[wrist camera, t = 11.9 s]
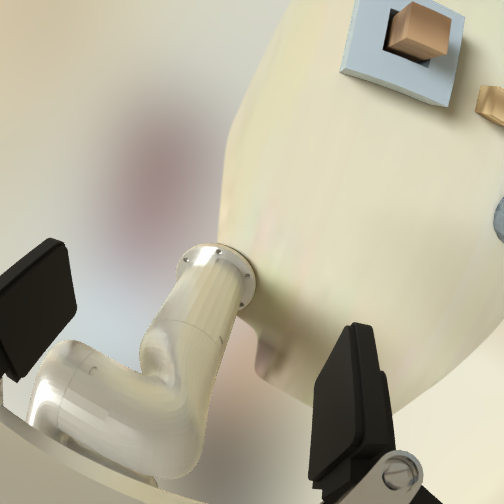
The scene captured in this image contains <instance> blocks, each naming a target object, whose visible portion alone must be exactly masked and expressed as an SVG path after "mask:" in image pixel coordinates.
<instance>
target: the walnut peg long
mask: <svg viewBox="0 0 504 504" xmlns="http://www.w3.org/2000/svg"><path fill="white" fill-rule="evenodd" d="M451 21H452V19H451V18H449V17H447V16H445V15H443V14H441V13H438V12H436V11H434V10H432V9H430V8H427V7H425V6H423V5H420V4H418V3H415V2H413V1H412V2H411V3H409V4H408V5H407V6H406V7H405V8H403V9H402V10H401V11H400V12H399V13H397V14H396V15H395V16H394V17H393V18H392V19H390V20H389V21H388V25H387V30H386V35H385V39H384V44H383V49H382V50H384V51H386V52H389V53H392V54H394V55H397V56H400V57H402V58H405V59H407V60H410V61H412V62H418V61H422V60H426V59H430V58H435V57H439V56H444V55H447V49H448V43H449V36H450V29H451Z"/></svg>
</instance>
